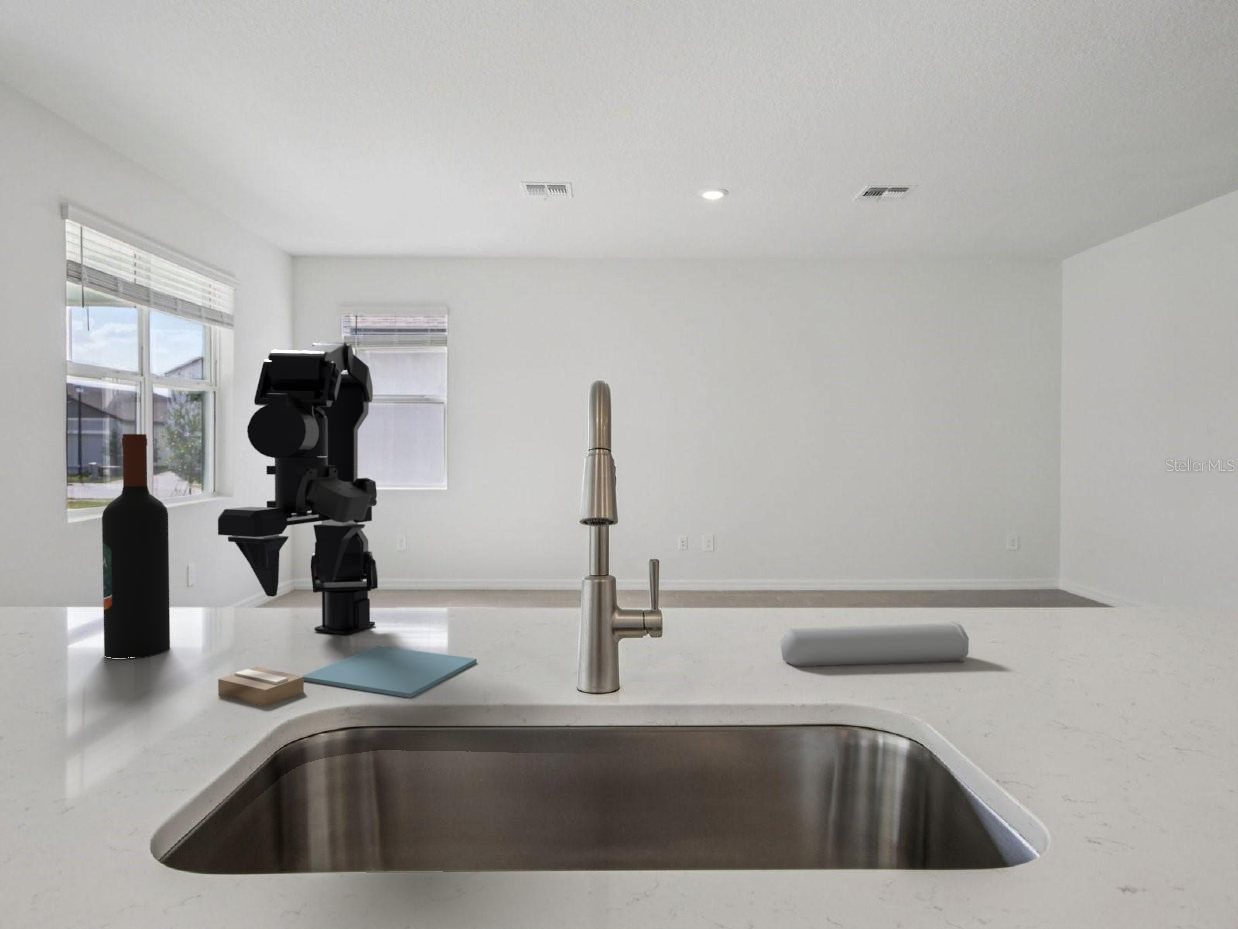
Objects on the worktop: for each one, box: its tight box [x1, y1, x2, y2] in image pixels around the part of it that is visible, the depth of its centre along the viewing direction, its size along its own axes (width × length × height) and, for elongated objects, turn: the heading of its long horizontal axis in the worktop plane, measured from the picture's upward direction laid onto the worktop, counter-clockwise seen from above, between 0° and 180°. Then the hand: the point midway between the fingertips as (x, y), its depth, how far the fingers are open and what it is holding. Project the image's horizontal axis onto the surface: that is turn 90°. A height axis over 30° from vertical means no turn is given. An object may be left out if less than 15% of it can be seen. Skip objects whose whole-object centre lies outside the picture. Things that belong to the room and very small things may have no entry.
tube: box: [779, 620, 970, 667], centre depth 96 cm, size 5×5×25 cm
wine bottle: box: [101, 433, 171, 658], centre depth 98 cm, size 8×8×30 cm
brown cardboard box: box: [217, 666, 305, 707], centre depth 82 cm, size 8×5×2 cm, turn 64°
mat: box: [302, 645, 477, 699], centre depth 90 cm, size 16×14×1 cm
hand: (302, 588), depth 84 cm, fingers open, 9 cm apart
